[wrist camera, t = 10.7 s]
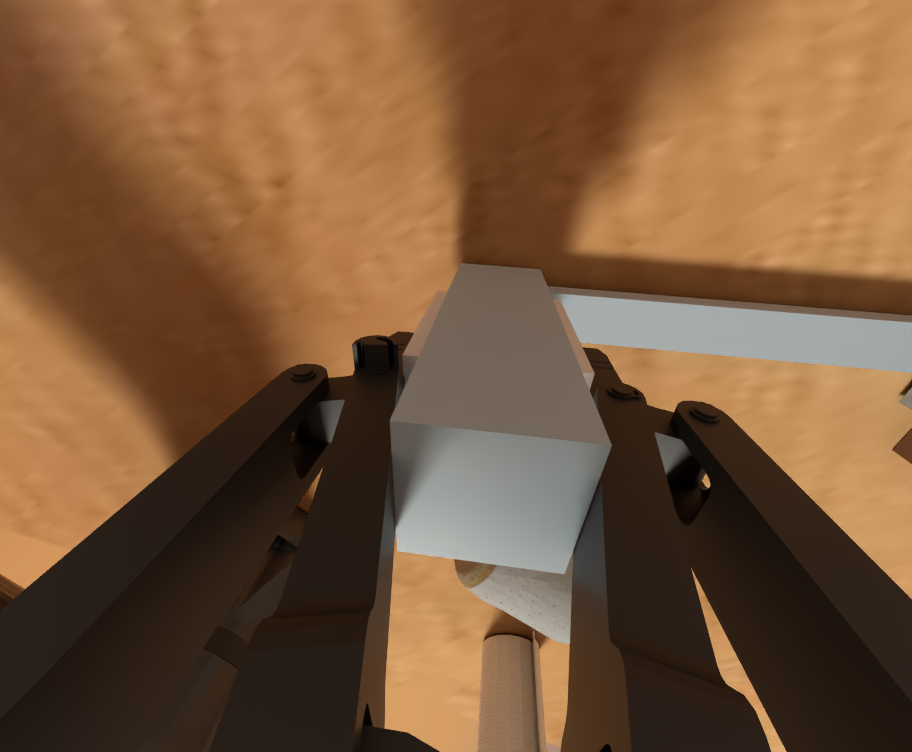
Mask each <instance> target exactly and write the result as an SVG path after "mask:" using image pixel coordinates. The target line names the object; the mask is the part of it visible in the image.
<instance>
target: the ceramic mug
mask: <svg viewBox="0 0 912 752" xmlns="http://www.w3.org/2000/svg"><path fill="white" fill-rule="evenodd" d="M454 561H455V569H456V573H457V576H458V578H459V580H460V581H461V583H462V584H463V585H464V586H465V587H466V588H468V589H469V590H470V591H471V592H472V593H474V594H475V595H476V596H478V597H479V598H480V599H482V600H483V601H485V602H487V603H489V604H491V605H493V606H495V607H497V608H499V609H501V610H503V611H504V612H506V613H508V614H510V615H511V616H513V617H515V618H517V619H518V620H520V621H522V622H523V623H525V624H527V625H528V626H530V627H532V628H534V629H535V630H537V631H539V632H540V633H542V634H544V635H545V636H547V637H549V638H551V639H553V640H555V641H557V642H560V643H566V644H570V627H571V599H572V571H573V552H572V555H571V558H570V560H569V563H568V566H567V569H566V571H565V574H559V573H552V572H544V571H537V570H530V569H523V568H516V567H508V566H501V565H494V564H487V563H480V562H472V561H465V560H458V559H454Z"/></svg>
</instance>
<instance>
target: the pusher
mask: <svg viewBox="0 0 912 752" xmlns="http://www.w3.org/2000/svg"><path fill="white" fill-rule="evenodd" d="M553 300H558V301H561V303H562V305H563V307H564V309H565V311H566V313H567V315H568V318H569V320H570V322H571V324H572V326H573V328H574V330H575V333H576V335H577V337H578V339H579V341H580V342H582V343H592V344H603V345H614V346H625V347H636V348H647V349H658V350H669V351H680V352H691V353H702V354H713V355H724V356H735V357H746V358H757V359H767V360H778V361H789V362H800V363H811V364H822V365H833V366H844V367H855V368H866V369H877V370H888V371H899V372H910V373H912V315H901V314H889V313H876V312H864V311H852V310H839V309H827V308H814V307H802V306H789V305H777V304H765V303H752V302H740V301H727V300H715V299H703V298H690V297H678V296H665V295H653V294H641V293H628V292H616V291H603V290H591V289H578V288H566V287H554V286H547V284H546V281H545V279H544V276H543V274H542V271H541V269H531V268H518V267H505V266H492V265H479V264H466V263H461V264H460V266H459V268H458V270H457V273H456V275H455V277H454V279H453V281H452V284H451V286H450V288H449V290H448V292H447V295H446V297H445V299H444V301H443V304H442V306H441V308H440V310H439V312H438V315H437V317H436V319H435V321H434V324H433V326H432V328H431V330H430V332H429V335H428V337H427V339H426V341H425V343H424V346H423V348H422V350H421V352H420V355H419V357H418V359H417V361H416V363H415V366H414V368H413V370H412V372H411V375H410V377H409V379H408V381H407V383H406V386H405V388H404V390H403V392H402V394H401V397H400V399H399V401H398V403H397V406H396V408H395V410H394V412H393V414H392V417H391V419H390V434H391V451H392V468H393V484H394V501H395V517H396V534H397V551H400V552H408V553H415V554H422V555H429V556H436V557H444V558H451V559H458V560H465V561H472V562H480V563H487V564H494V565H501V566H508V567H516V568H523V569H530V570H537V571H544V572H552V573H559V574H565V571H566V569H567V566H568V563H569V560H570V558H571V555H572V552H573V550H574V547H575V544H576V541H577V539H578V536H579V533H580V531H581V528H582V525H583V522H584V520H585V517H586V514H587V512H588V509H589V506H590V503H591V501H592V498H593V495H594V493H595V490H596V487H597V485H598V482H599V479H600V476H601V474H602V471H603V468H604V466H605V463H606V460H607V457H608V455H609V452H610V449H611V447H612V445H611V442H610V440H609V437H608V435H607V432H606V430H605V427H604V425H603V422H602V420H601V417H600V415H599V412H598V410H597V408H596V405H595V403H594V400H593V398H592V395H591V393H590V390H589V388H588V385H587V383H586V380H585V378H584V375H583V373H582V370H581V368H580V365H579V363H578V361H577V358H576V356H575V353H574V351H573V348H572V346H571V343H570V341H569V338H568V336H567V333H566V331H565V328H564V326H563V323H562V321H561V318H560V316H559V314H558V311H557V309H556V306H555V304H554V301H553ZM899 403H901V404H903V405H904V406H906V407H908V408H910V409H911V410H912V388H911V389H910V390H909V391H908V392H907V393H906V395H905V396H904V397H903V398H902V399H901V400H900V402H899Z"/></svg>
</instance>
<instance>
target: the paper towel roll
mask: <svg viewBox="0 0 912 752" xmlns="http://www.w3.org/2000/svg"><path fill="white" fill-rule="evenodd" d="M532 634H533V643H532V642H531V641H529V640H527V639H525V638H522V637H519V636H514V635H496V636H492V637H489V638H488V639H486V640H485V641H484V643H483V647H482V662H481V684H480V706H479V728H478V749H477V752H547V750H546V736H545V723H544V709H543V696H542V682H541V669H540V655H539V644H538V643H537V641H536V639H535V630H533V632H532Z"/></svg>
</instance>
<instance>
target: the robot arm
mask: <svg viewBox="0 0 912 752" xmlns="http://www.w3.org/2000/svg"><path fill="white" fill-rule="evenodd" d="M447 292H448V291H437V293H436V294H435V296H434V298H433V300H432V302H431V304H430V305H429V307H428V309H427V311H426V313H425V315H424V316H423V318H422V320H421V322H420V324H419V325H418V327H417V329H416V331H415V333H409V332H397V333H395V334H393V335H391V336H389V337H387V336H379V335H376V336H367V337H363V338H360V339H358V340H356V341H355V342H354V343H353V344H352V348H353V357H354V365H355V370H354V374H353V375H351V376H345V377H334V378H328V374H327V370H326V369H325V368H324V367H322V366H320V365H316V364H303V365H302V364H300V365H296V366H294V367H291V368H288V369H287V370H285V371H283V372H282V373H281V374H280V375H278V376H277V377H276V378H275V379H274V380H273V381H271V382H270V383H269V384H268V385H267V386H265V387H264V388H263V389H262V390H261V391H259V392H258V393H257V394H256V395H255V396H254V397H252V398H251V399H250V400H249V401H248V402H246V403H245V404H244V405H243V406H242V407H241V408H239V409H238V410H237V411H236V412H235V413H233V414H232V415H231V416H230V417H229V418H227V419H226V420H225V421H224V422H223V423H222V424H220V425H219V426H218V427H217V428H216V429H214V430H213V431H212V432H211V433H210V434H209V435H207V436H206V437H205V438H204V439H203V440H201V441H200V442H199V443H198V444H197V445H196V446H194V447H193V448H192V449H191V450H190V451H188V452H187V453H186V454H185V455H184V456H182V457H181V458H180V459H179V460H178V461H177V462H175V463H174V464H173V465H172V466H171V467H169V468H168V469H167V470H166V471H165V472H164V473H162V474H161V475H160V476H159V477H158V478H156V479H155V480H154V481H153V482H152V483H150V484H149V485H148V486H147V487H146V488H145V489H143V490H142V491H141V492H140V493H139V494H137V495H136V496H135V497H134V498H133V499H132V500H130V501H129V502H128V503H127V504H126V505H124V506H123V507H122V508H121V509H120V510H118V511H117V512H116V513H115V514H114V515H113V516H111V517H110V518H109V519H108V520H107V521H105V522H104V523H103V524H102V525H101V526H100V527H98V528H97V529H96V530H95V531H94V532H92V533H91V534H90V535H89V536H88V537H87V538H85V539H84V540H83V541H82V542H81V543H79V544H78V545H77V546H76V547H75V548H73V549H72V550H71V551H70V552H69V553H68V554H67V555H65V556H64V557H63V558H62V559H61V560H59V561H58V562H57V563H56V564H55V565H54V566H52V567H51V568H50V569H49V570H47V571H46V572H45V573H44V574H43V575H42V576H40V577H39V578H38V579H37V580H36V581H34V582H33V583H32V584H31V585H30V586H29V587H27V588H26V589H24V588H22V587H21V586H19V585H17V584H16V583H14V582H12V581H11V580H9V579H7V578H6V577H4V576H2V575H1V574H0V752H439V751H438V750H436V749H434V748H433V747H431V746H429V745H428V744H426V743H424V742H423V741H420V740H419V739H417V738H416V737H414V736H412V735H411V734H409V733H406V732H400V731H395V730H388V729H384V725H385V723H384V722H385V677H386V661H387V646H388V631H389V616H390V601H391V586H392V571H393V556H394V541H395V526H396V517H395V501H394V484H393V468H392V451H391V434H390V419H391V417H392V414H393V412H394V410H395V408H396V406H397V403H398V401H399V399H400V397H401V394H402V392H403V390H404V388H405V386H406V383H407V381H408V379H409V377H410V375H411V372H412V370H413V368H414V366H415V363H416V361H417V359H418V357H419V355H420V352H421V350H422V348H423V346H424V343H425V341H426V339H427V337H428V335H429V332H430V330H431V328H432V326H433V324H434V321H435V319H436V317H437V315H438V312H439V310H440V308H441V306H442V304H443V301H444V299H445V297H446V295H447ZM553 301H554V304H555V306H556V309H557V311H558V314H559V316H560V318H561V321H562V323H563V326H564V328H565V331H566V333H567V336H568V338H569V341H570V343H571V346H572V348H573V351H574V353H575V356H576V358H577V361H578V363H579V365H580V368H581V370H582V373H583V375H584V378H585V380H586V383H587V385H588V388H589V390H590V393H591V395H592V398H593V400H594V403H595V405H596V408H597V410H598V412H599V415H600V417H601V420H602V422H603V425H604V427H605V430H606V432H607V435H608V437H609V440H610V442H611V445H612V447H611V449H610V452H609V455H608V457H607V460H606V463H605V466H604V468H603V471H602V474H601V476H600V479H599V482H598V485H597V487H596V490H595V493H594V495H593V498H592V501H591V503H590V506H589V509H588V512H587V514H586V517H585V520H584V522H583V525H582V528H581V531H580V533H579V536H578V539H577V541H576V544H575V547H574V550H573V571H572V599H571V627H570V655H569V683H568V706H567V716H566V723H565V728H564V733H563V738H562V745H561V752H771V750H770V747H769V744H768V741H767V738H766V735H765V732H764V730H763V728H762V725H761V723H760V721H759V718H758V716H757V713H756V711H755V710H754V708H753V707H752V706H751V704H750V703H749V701H748V700H747V699H746V697H745V696H744V695H743V694H741V693H740V692H738V691H736V690H735V689H733V688H731V687H730V686H728V685H727V684H726V683H725V681H724V680H723V678H722V677H721V674H720V672H719V669H718V666H717V663H716V659H715V656H714V652H713V648H712V644H711V641H710V637H709V633H708V629H707V626H706V622H705V618H704V615H703V611H702V607H701V603H700V600H699V596H698V592H697V589H696V585H695V581H694V577H693V574H692V570H693V572H694V574H695V576H696V578H697V580H698V582H699V583H700V585H701V587H702V589H703V591H704V593H705V595H706V597H707V599H708V601H709V603H710V605H711V607H712V609H713V610H714V612H715V614H716V616H717V618H718V620H719V622H720V624H721V626H722V628H723V630H724V632H725V634H726V636H727V637H728V639H729V641H730V643H731V645H732V647H733V649H734V651H735V653H736V655H737V657H738V659H739V661H740V663H741V664H742V666H743V668H744V670H745V672H746V674H747V676H748V678H749V680H750V682H751V684H752V686H753V688H754V690H755V691H756V693H757V695H758V697H759V699H760V701H761V703H762V705H763V707H764V709H765V711H766V713H767V715H768V717H769V718H770V720H771V722H772V724H773V726H774V728H775V730H776V732H777V734H778V736H779V738H780V740H781V742H782V744H783V745H784V747H785V749H786V751H787V752H912V599H911V598H910V597H909V596H908V595H907V594H906V593H905V592H904V591H903V590H902V589H901V588H900V587H899V586H898V585H897V584H896V583H895V582H894V581H893V580H892V579H891V578H890V577H889V576H888V575H887V574H886V573H885V572H884V571H883V570H882V569H881V568H880V567H879V566H878V565H877V564H876V563H875V562H874V561H873V560H872V559H871V558H870V557H869V556H868V555H867V554H866V553H865V552H864V551H863V550H862V549H861V548H860V547H859V546H858V545H857V544H856V543H855V542H854V541H853V540H852V539H851V538H850V537H849V536H848V535H847V534H846V533H845V532H844V531H843V530H842V529H841V528H840V527H839V526H838V525H837V524H836V523H835V522H834V521H833V520H832V519H831V518H830V517H829V516H828V515H827V514H826V513H825V512H824V511H823V510H822V509H821V508H820V507H819V506H818V505H817V504H816V503H815V502H814V501H813V500H812V499H811V498H810V497H809V496H808V495H807V494H806V493H805V492H804V491H803V490H802V489H801V488H800V487H799V486H798V485H797V484H796V483H795V482H794V481H793V480H792V479H791V478H790V477H789V476H788V475H787V474H786V473H785V472H784V471H783V470H782V469H781V468H780V467H779V466H778V465H777V464H776V463H775V462H774V461H773V460H772V459H771V458H770V457H769V456H768V455H767V454H766V453H765V452H764V451H763V450H762V449H761V448H760V447H759V446H758V445H757V444H756V443H755V442H754V441H753V440H752V439H751V438H750V437H749V436H748V435H747V434H746V433H745V432H744V431H743V430H742V429H741V428H740V427H739V426H738V425H737V424H736V423H735V422H734V421H733V420H732V419H731V418H730V417H729V416H728V415H727V414H725V413H724V412H723V411H721V410H719V409H717V408H715V407H714V406H713V405H710V404H706V403H704V402H696V401H682V402H680V403H678V405H677V407H676V409H675V411H674V412H670V411H666V410H662V409H659V408H655V407H652V406H649V405H647V402H646V399H645V397H644V395H643V394H642V393H641V392H640V391H639V390H638V389H636V388H634V387H632V386H630V385H628V384H624V383H622V381H621V380H620V378H619V376H618V374H617V373H616V371H615V370H614V368H613V366H612V364H610V363H611V362H610V361H609V359H608V357H607V355H605V354H604V353H602V352H601V351H600V350H598V349H595V348H584V347H582V346H581V343H580V341H579V339H578V337H577V335H576V333H575V330H574V328H573V326H572V324H571V322H570V320H569V318H568V315H567V313H566V311H565V309H564V307H563V305H562V303H561V301H558V300H553ZM322 468H323V470H322V473H321V476H320V479H319V482H318V485H317V488H316V491H315V494H314V497H313V500H312V504H311V507H310V510H309V513H308V516H307V515H306V514H305V513H303V512H302V511H301V510H299V509H298V508H296V507H297V505H298V504H299V502H300V501H301V499H302V498H303V496H304V495H305V493H306V492H307V490H308V489H309V487H310V486H311V484H312V483H313V481H314V480H315V478H316V477H317V475H318V474H319V472H320V471H321V469H322ZM705 474H707V476H708V478H709V480H710V484H711V486H710V487H709V488H707V487H706V486H705V485H704V483H703V482H702V479H703V478H704V476H705ZM691 568H692V570H691Z"/></svg>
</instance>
